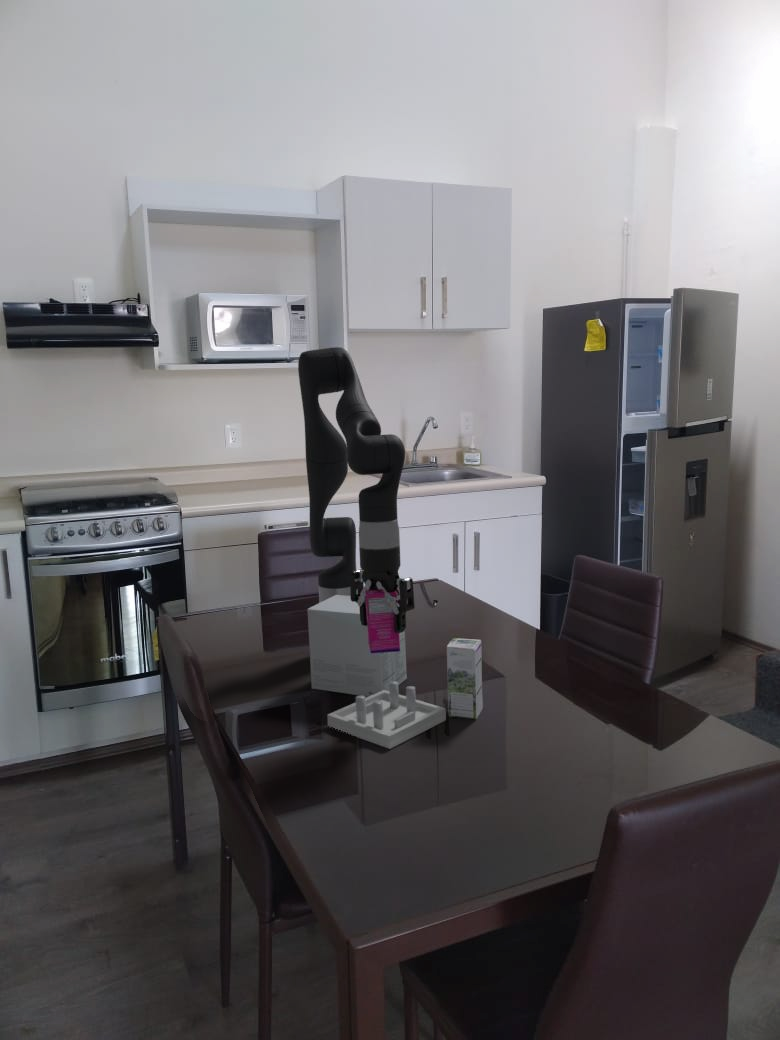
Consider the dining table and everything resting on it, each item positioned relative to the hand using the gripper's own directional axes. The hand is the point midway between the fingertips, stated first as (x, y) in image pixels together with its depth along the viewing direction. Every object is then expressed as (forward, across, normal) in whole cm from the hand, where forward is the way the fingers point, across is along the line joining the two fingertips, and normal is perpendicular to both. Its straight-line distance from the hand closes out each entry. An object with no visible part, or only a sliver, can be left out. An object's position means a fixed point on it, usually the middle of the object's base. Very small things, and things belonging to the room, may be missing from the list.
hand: (382, 628), depth 157 cm
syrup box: (+19, -9, -13) cm, 25 cm away
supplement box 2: (+4, 0, 0) cm, 4 cm away
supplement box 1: (+19, +19, -12) cm, 29 cm away
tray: (+19, 0, 0) cm, 19 cm away
